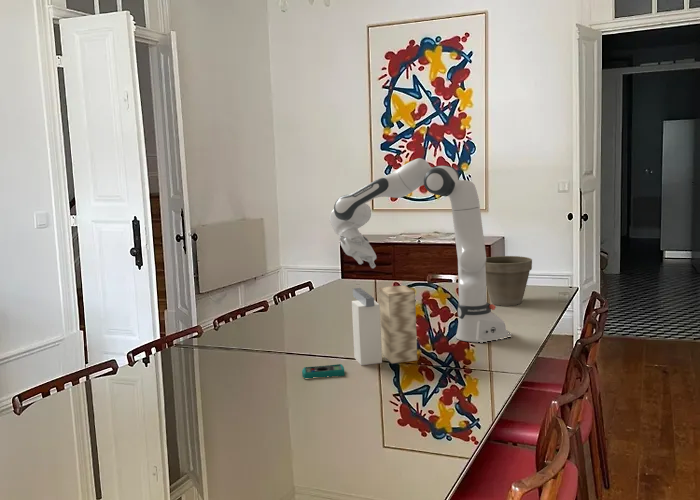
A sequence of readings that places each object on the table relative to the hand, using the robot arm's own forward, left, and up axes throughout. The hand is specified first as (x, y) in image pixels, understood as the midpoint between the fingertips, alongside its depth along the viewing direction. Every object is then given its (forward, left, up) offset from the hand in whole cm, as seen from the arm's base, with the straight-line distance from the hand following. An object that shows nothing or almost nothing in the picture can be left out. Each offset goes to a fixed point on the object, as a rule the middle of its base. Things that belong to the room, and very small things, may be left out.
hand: (367, 265), depth 288 cm
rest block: (+9, +30, -30) cm, 44 cm away
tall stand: (-3, +31, -30) cm, 44 cm away
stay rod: (+9, +27, -8) cm, 30 cm away
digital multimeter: (+28, +40, -31) cm, 58 cm away
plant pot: (-78, -33, -31) cm, 90 cm away
